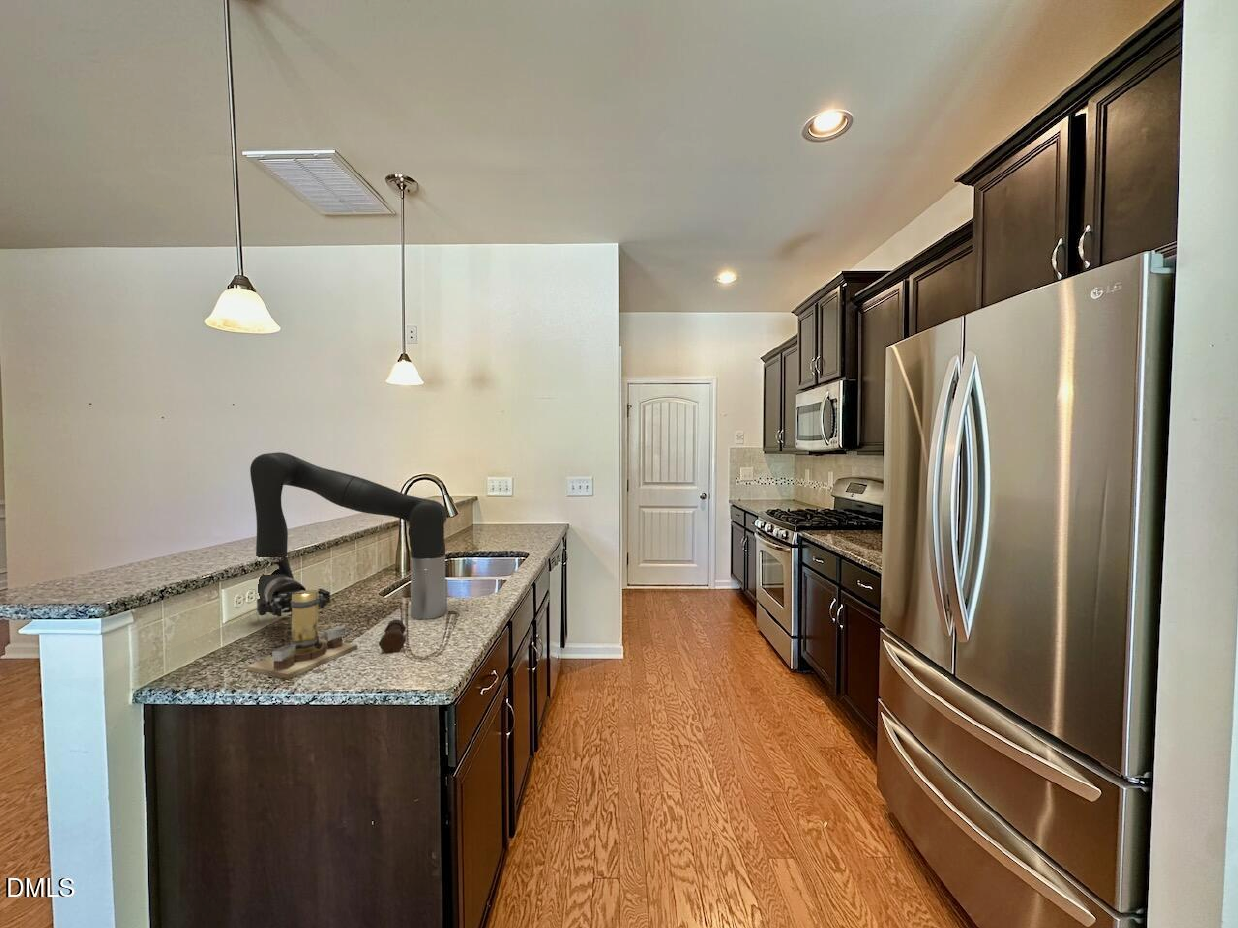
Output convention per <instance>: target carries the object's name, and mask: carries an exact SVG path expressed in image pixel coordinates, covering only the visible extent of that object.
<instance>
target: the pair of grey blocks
mask: <svg viewBox="0 0 1238 928" xmlns="http://www.w3.org/2000/svg"><path fill="white" fill-rule="evenodd" d="M340 637H342V638H343V637H346V627H345V626H342V625H339V626H335V627H333V628H328V629H325V630H323V639H324V640H326V641H330V640H333V639H336V638H340ZM271 652H272V653H271V655H272V656H271V657H272V661H283V660H285V659H287V658H288V657H290V656H292V655H294V654H295V644H291V643H289V644H288V643H286V644H284V645H283V646H280V647H279V648H276V649H274V650H273V651H271Z"/></svg>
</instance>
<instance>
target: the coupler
mask: <svg viewBox="0 0 1238 928" xmlns="http://www.w3.org/2000/svg"><path fill="white" fill-rule="evenodd" d="M318 604H319V597H318V589H317V590H315V589H306V590H305V591H299V592H295V593H293V594H292V600H291V607H292V612H291V639H290V644H295V654H301V653H309V652H312V651H315V650H317V649H318V643H319V638H320V636H319V607H318Z"/></svg>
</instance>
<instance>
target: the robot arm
mask: <svg viewBox="0 0 1238 928" xmlns="http://www.w3.org/2000/svg"><path fill="white" fill-rule="evenodd" d="M249 470H250V471H249V472H250V480H251V481H250V482H251V487H252V493H253V499H254V506H255V516H256V542H255V544H256V546H255V556H258V557H284V559H283V560H282V561H279V562H277V564H276V565H277V567H278V566H279V569H277V568H276V569H277V570H275V571H274V572H273V573H272V574H271V575H264V574H263V575H262V576H261V577H260V579H259V584H258V593H259V596H260V599H257V598H256V611H257V613H258V615H259V616H265V615H267V613H269V615H272V616H275V617H277V618H278V617H282V613H285V614H286V613H292V607H291V600H292V594H293V593H295V592H299V591H305V590H307V589H306V588H305V586H304V585H303V584H302V583H300V582H299V581H297V580H296V579H295V578H294V575H293V572H292V568H291V565H290V561H289V557H288V558H287V557H286V556H287V555H288V545H289V544H288V541H289V540H288V539H289V538H288V537H289V533H288V532H289V531H288V524H287V522H286V519H285V515H284V511H283V507H282V494H283V488H284V486H288V487H289V486H290V487H295V488H299V489H304V490H308V491H311V492H313V493H314V494H317V495H319V496H320V497H322V498H324V500H326V501H329V502H330V503H332V504H334V505H337V506H339V507H341V508H345V509H349V510H351V511H356V512H359V513H362V514H363V513H364V514H369V515H376V516H384V517H386V516H387V517H392V518H397V519H400V520H402V521H405V522H408V523H409V524H408V525H409V547H410V551H411V553H410V555H411V558H410V560H411V563H410V564H411V566H410V569H411V571H410V572H411V573H410V575H411V576H410V578H411V579H410V582H411V583H410V586H411V587H410V602H411V603H410V616H411V618H413V619H415V620H428V619H429V620H430V619H436V618H439V617H441V616H443V615H445V613H446V612H447V611H448V579H446V545H445V535H444V534H445V531H444V529H445V526H444V525H445V523H446V522H447V519H448V513H447V510H446V508H445V506H444V505H443V504H442V503H440V502H439V501H437V500H434V499H427V498H423V497H422V498H421V497H417V496H414V495H409V494H406V493H403V492H400V491H398V490H395V489H392V488H390V487H387V486H384V485H382V484H379V483H376V482H374V481H371V480H368V479H365V478H362V477H359V476H355V475H351V474H348V473H345V472H341V471H337V470H333V469H329V468H325V467H321V466H320V465H319V466H318V465H316V464H313V463H311V462H309V461H306V460H304V459H301V458H300V457H297V456H294V455H292V454H289V453H286V452H278V451H277V452H269V453H263V454H262V453H261V454H259V455H258V456H255V458H254V459H252V462H251V463H250V468H249ZM317 591H318V597H319V604H318V609H324V608H325V607H326V606H327V604H329V603H331V592H330V591H328V590H325V588H318V589H317Z"/></svg>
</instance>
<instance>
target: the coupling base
mask: <svg viewBox="0 0 1238 928" xmlns="http://www.w3.org/2000/svg"><path fill="white" fill-rule="evenodd" d="M357 649H358V644H355V643H351V642H343V637H340V638H336V639H333V640H330V641H326V640H324V638H322V637H321V638H320V637H319V643H318V649H317V650H315V651H312V652H309V653H301V654H294V655H292V656H290V657H288V658H287V659H285V660H283V661H272V656H270V657H268V658H267V657H266V658H264V659H262V660H258V661H257V662H254V663H251V664H248V665H247V666H246V667H247V669H246V671H247V670H248V672H254V673H256V674H257V673H258V674H261V675H267V676H271V677H276V678H280V679H284V678H285V680H289V679H292V678H294V677H297V676H299V675H301V674H303V673H305V672H308V671H310V670H312V669H315V668H317V667H319V666H321V665H324V664H326V663H328V662H330V661H332V660H335V659H337V658H340V657H342V656H344V655H346V654H349V653H351V652H354V651H356V650H357Z"/></svg>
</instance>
